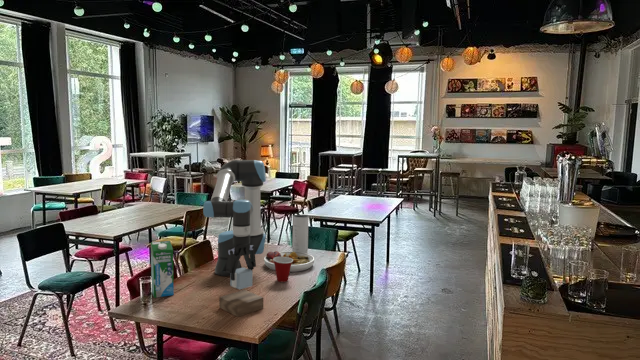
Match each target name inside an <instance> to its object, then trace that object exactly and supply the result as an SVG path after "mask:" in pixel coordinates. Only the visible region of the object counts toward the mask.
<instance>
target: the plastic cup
mask: <svg viewBox="0 0 640 360" xmlns="http://www.w3.org/2000/svg"><path fill="white" fill-rule="evenodd" d="M273 260H274V264H275V270H276V271H275V270H274V271H275V275H276V280H277V282H279V283H285V282H288V281H289V276H290V273H291V272H290V267H291V264H292V262H293V259H291V258H288V257H275V258H273Z"/></svg>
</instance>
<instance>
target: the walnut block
mask: <svg viewBox="0 0 640 360" xmlns="http://www.w3.org/2000/svg"><path fill="white" fill-rule="evenodd" d="M218 307H219V309H221V310H223V311H225V312H227V313H230V314H232V315H233V316H235V317H242V316H245V315H247V314H251V313H254V312H256V311H259V309H260V310H262V308H263V309H264V297H263V296H261V295H258V294H256V293H254V292H251V291H248V290H247V289H241V290H239V291H236V292H232V293H228V294H225V295H222V296H219V306H218Z"/></svg>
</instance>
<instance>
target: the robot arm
mask: <svg viewBox="0 0 640 360" xmlns="http://www.w3.org/2000/svg"><path fill="white" fill-rule="evenodd" d="M266 181H267V176H266V168H265V164H264V162H263V161H262V160H256V159H234V160H233V159H232V160H230V161H228V162H225V164H224V163H223V165H222V166H221V167H220V168H219V169H218V170H217V174H216V183H215V187H214V189H213V193H212V194H211V195H212V196H211V199H210V200H206V201H204V203H203V205H202V208H203V210H202V212H203V216H204V217H205V218H213V219H215V218H227V219H228V218H231V219H232V221H233V222H232V230H226V231H223V232H220V233H219V234H218V236H217V261H216V265H215V268H214V274H215V275H218V276H221V277H230V273H231V280H232V286H231V287H232V288H235V289H237V273H235V272H236V269H238V268H243V266H242V264H241V261H240V260H241V257H242V256H243V258H244V260H245V264H246V268H247V269H249V270H252V271H253V270H254V269H255V267H256V266H257V262H256V255H261V254H263V253H264V251H265V244H266V235H267V234H266V233H264V230H263V228H261V227H262V226H261V225H262V224H261V222H262V221H261V219H262V218H261V187H263V186H264V183H266ZM234 182H237V183H238V182H241V186H242V187H243V188H244V199H236V200H234V201H233V200H232V201H231V200H229V201H228V199H229V195H230V192H231V188H232V185H233V183H234Z"/></svg>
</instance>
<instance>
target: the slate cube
mask: <svg viewBox="0 0 640 360" xmlns="http://www.w3.org/2000/svg"><path fill="white" fill-rule="evenodd" d="M235 273H237V288H236V289H237V290H239V291H241V290H244V289H246V288H250V287H253V270H249V269H248V268H247V267H244V266H242V268H238V269H236V272H235ZM229 277H230V278H229V280H230V282H229V285H230V287H232V280H231V273H230V276H229Z"/></svg>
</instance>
